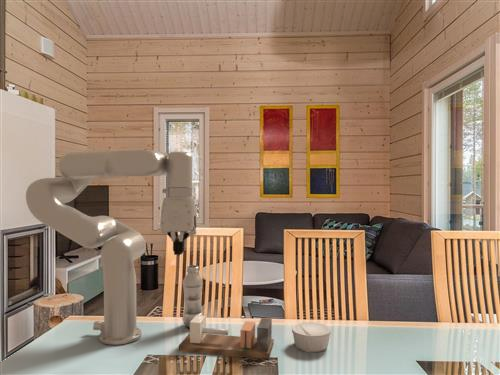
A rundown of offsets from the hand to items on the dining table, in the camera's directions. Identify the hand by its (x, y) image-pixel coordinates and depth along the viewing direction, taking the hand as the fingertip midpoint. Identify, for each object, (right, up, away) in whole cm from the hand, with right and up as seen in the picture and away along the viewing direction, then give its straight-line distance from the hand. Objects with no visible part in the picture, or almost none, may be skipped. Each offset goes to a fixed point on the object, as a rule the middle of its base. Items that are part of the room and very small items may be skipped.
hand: (178, 253), depth 125 cm
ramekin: (+39, -27, -3) cm, 48 cm away
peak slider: (+21, -25, -6) cm, 33 cm away
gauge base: (+15, -27, -4) cm, 31 cm away
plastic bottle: (+3, -26, +12) cm, 29 cm away
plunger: (+10, -25, -3) cm, 27 cm away
